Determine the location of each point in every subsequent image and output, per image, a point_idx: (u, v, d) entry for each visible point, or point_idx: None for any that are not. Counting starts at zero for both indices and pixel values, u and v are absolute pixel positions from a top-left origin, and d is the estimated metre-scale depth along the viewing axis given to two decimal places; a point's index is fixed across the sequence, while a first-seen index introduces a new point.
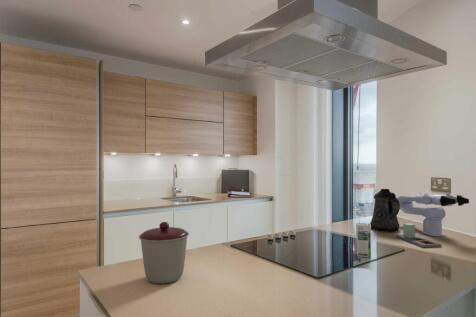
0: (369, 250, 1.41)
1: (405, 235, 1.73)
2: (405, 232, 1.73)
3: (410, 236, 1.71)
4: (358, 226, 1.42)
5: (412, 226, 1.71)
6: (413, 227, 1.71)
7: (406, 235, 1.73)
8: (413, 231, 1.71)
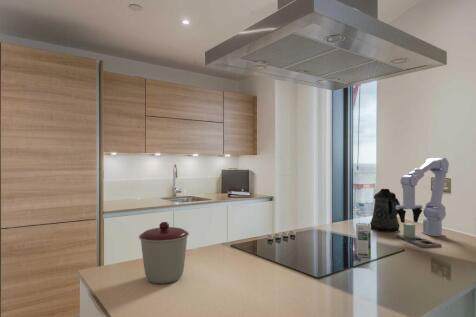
0: (369, 250, 1.41)
1: (405, 235, 1.73)
2: (405, 232, 1.73)
3: (410, 236, 1.71)
4: (358, 226, 1.42)
5: (412, 226, 1.71)
6: (413, 227, 1.71)
7: (406, 235, 1.73)
8: (413, 231, 1.71)
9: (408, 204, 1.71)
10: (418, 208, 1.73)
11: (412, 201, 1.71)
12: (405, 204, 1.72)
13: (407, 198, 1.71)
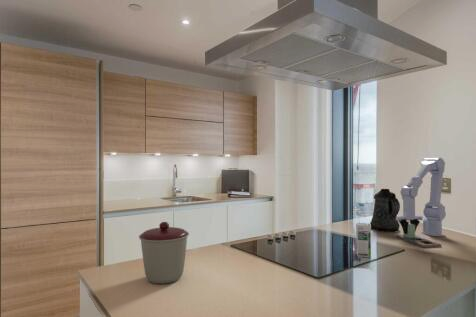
0: (369, 250, 1.41)
1: (405, 235, 1.73)
2: None
3: (410, 236, 1.71)
4: (358, 226, 1.42)
5: (412, 226, 1.71)
6: (413, 227, 1.71)
7: (406, 235, 1.73)
8: (413, 231, 1.71)
9: (408, 215, 1.71)
10: (418, 219, 1.73)
11: (412, 212, 1.71)
12: (405, 215, 1.72)
13: (407, 209, 1.71)
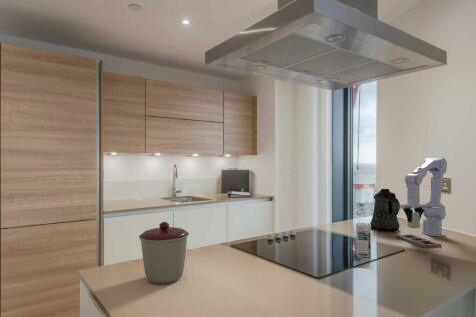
0: (369, 250, 1.41)
1: (409, 223, 1.70)
2: None
3: (414, 224, 1.68)
4: (358, 226, 1.42)
5: (416, 214, 1.68)
6: (417, 215, 1.68)
7: (410, 223, 1.69)
8: (417, 219, 1.68)
9: (412, 203, 1.67)
10: (423, 207, 1.69)
11: (417, 200, 1.67)
12: (409, 203, 1.69)
13: (411, 197, 1.68)
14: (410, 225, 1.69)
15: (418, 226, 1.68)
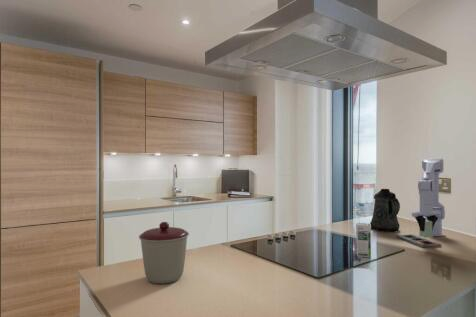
0: (369, 250, 1.41)
1: (421, 232, 1.61)
2: None
3: (427, 234, 1.59)
4: (358, 226, 1.42)
5: (429, 223, 1.59)
6: (430, 224, 1.59)
7: (422, 232, 1.60)
8: (430, 228, 1.59)
9: (425, 211, 1.58)
10: (436, 215, 1.60)
11: (430, 208, 1.58)
12: (422, 211, 1.59)
13: (424, 205, 1.58)
14: (422, 234, 1.60)
15: (431, 235, 1.59)
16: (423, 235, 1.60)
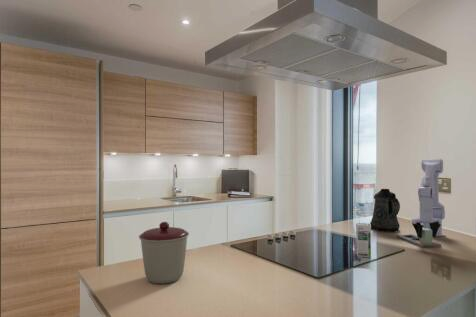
0: (369, 250, 1.41)
1: (421, 241, 1.61)
2: (421, 238, 1.61)
3: (427, 242, 1.59)
4: (358, 226, 1.42)
5: (429, 232, 1.59)
6: (430, 232, 1.59)
7: (422, 241, 1.60)
8: (430, 237, 1.59)
9: (425, 218, 1.58)
10: (436, 222, 1.60)
11: (430, 215, 1.58)
12: (422, 218, 1.59)
13: (424, 211, 1.58)
14: None
15: None
16: None
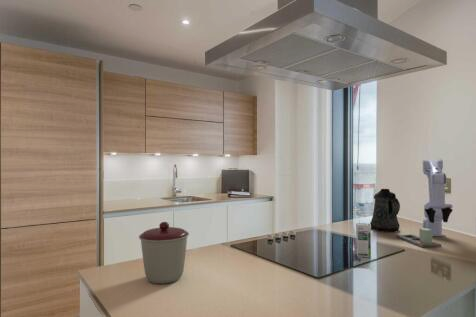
0: (369, 250, 1.41)
1: (421, 241, 1.61)
2: (421, 238, 1.61)
3: (427, 242, 1.59)
4: (358, 226, 1.42)
5: (429, 232, 1.59)
6: (430, 232, 1.59)
7: (422, 241, 1.60)
8: (430, 237, 1.59)
9: (438, 203, 1.64)
10: (448, 207, 1.66)
11: (442, 200, 1.63)
12: (434, 203, 1.65)
13: (437, 197, 1.64)
14: None
15: None
16: None
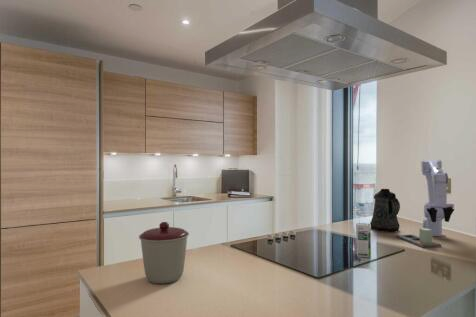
0: (369, 250, 1.41)
1: (421, 241, 1.61)
2: (421, 238, 1.61)
3: (427, 242, 1.59)
4: (358, 226, 1.42)
5: (429, 232, 1.59)
6: (430, 232, 1.59)
7: (422, 241, 1.60)
8: (430, 237, 1.59)
9: (440, 203, 1.65)
10: (450, 207, 1.67)
11: (444, 200, 1.64)
12: (436, 203, 1.66)
13: (438, 197, 1.65)
14: None
15: None
16: None
